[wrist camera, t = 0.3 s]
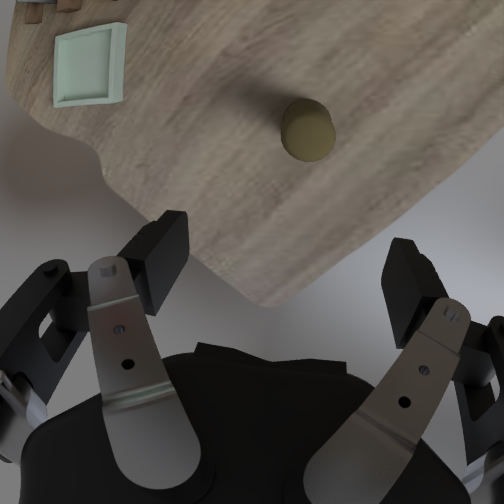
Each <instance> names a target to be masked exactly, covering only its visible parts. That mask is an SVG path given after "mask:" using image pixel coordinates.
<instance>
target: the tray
mask: <svg viewBox="0 0 504 504" xmlns="http://www.w3.org/2000/svg"><path fill="white" fill-rule="evenodd" d="M126 32H127V24H125V23H120V22H115V23H110V24H105V25H100V26H95V27H91V28H86V29H82V30H78V31H74V32H70V33H67V34H63V35H59V36H56V38H55V52H54V79H53V99H54V108H57V107H67V106H77V105H89V104H105V103H116V102H120V101H123V75H124V57H125V43H126Z"/></svg>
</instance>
